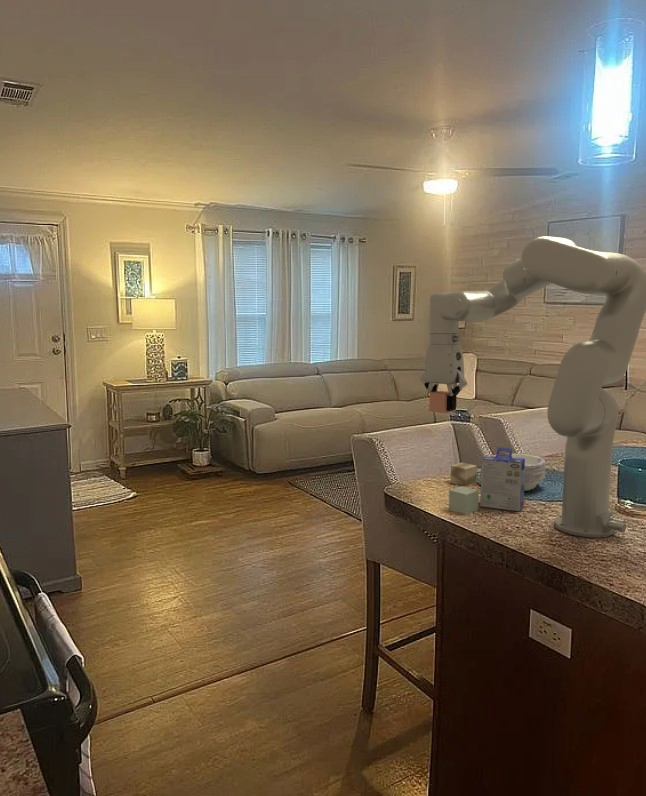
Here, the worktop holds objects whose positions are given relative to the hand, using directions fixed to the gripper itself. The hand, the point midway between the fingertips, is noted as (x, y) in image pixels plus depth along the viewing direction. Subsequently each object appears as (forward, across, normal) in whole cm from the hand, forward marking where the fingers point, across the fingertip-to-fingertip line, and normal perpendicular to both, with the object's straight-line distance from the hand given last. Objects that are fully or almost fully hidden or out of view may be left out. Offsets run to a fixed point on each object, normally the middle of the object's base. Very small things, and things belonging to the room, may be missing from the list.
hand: (442, 408), depth 167 cm
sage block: (+23, -14, +9) cm, 28 cm away
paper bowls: (+23, -12, -17) cm, 31 cm away
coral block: (+1, 0, 0) cm, 1 cm away
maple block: (+23, 0, -10) cm, 25 cm away
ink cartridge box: (+23, -19, 0) cm, 29 cm away
